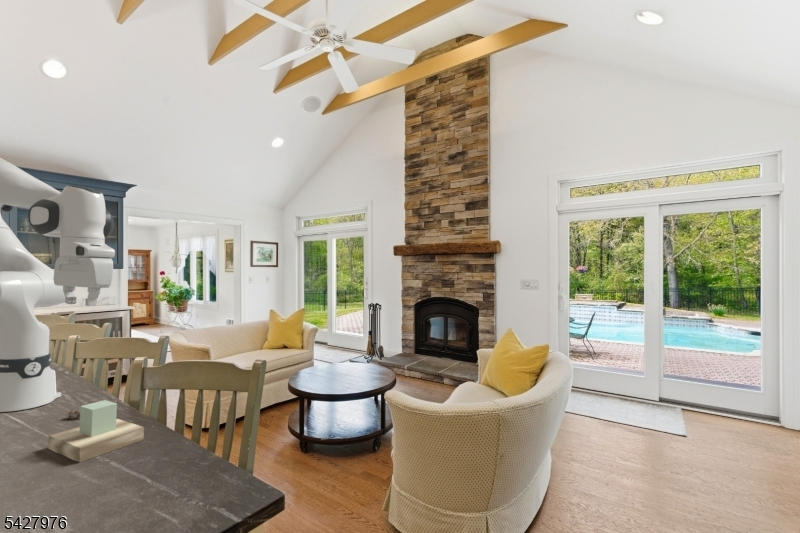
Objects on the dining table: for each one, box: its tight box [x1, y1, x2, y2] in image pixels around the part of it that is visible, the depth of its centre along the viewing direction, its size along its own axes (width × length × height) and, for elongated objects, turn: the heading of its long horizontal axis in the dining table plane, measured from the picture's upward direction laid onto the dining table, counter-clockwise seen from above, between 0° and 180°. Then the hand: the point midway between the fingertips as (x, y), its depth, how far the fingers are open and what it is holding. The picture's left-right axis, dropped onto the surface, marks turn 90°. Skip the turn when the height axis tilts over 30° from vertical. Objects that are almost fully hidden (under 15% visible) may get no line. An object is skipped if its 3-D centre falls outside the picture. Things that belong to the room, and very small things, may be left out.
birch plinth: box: [47, 417, 145, 463], centre depth 91 cm, size 13×13×3 cm
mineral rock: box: [67, 408, 80, 421], centre depth 109 cm, size 11×4×8 cm
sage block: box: [79, 399, 118, 437], centre depth 91 cm, size 5×5×6 cm
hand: (80, 305), depth 100 cm, fingers open, 8 cm apart
